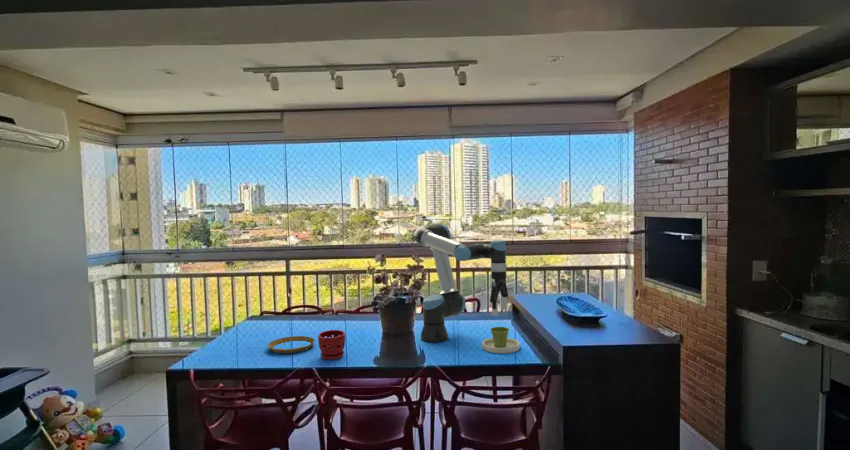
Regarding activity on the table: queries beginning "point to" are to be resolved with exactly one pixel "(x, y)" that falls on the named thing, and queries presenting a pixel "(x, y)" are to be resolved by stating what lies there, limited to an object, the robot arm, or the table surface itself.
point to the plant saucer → (288, 339)
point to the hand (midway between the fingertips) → (499, 312)
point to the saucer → (510, 347)
